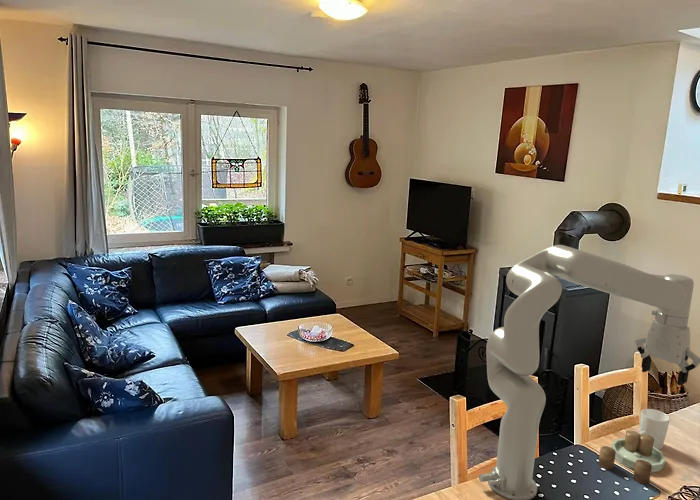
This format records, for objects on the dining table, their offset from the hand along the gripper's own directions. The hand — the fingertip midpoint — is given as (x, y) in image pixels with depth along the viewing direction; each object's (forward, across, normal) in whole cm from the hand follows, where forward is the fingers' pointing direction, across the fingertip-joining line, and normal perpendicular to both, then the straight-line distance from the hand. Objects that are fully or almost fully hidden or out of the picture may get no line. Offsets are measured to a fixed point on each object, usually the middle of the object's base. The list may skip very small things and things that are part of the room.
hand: (662, 377), depth 149 cm
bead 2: (+28, +2, -8) cm, 29 cm away
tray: (+28, -5, +2) cm, 29 cm away
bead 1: (+28, -7, -10) cm, 31 cm away
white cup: (+29, -7, +14) cm, 33 cm away
